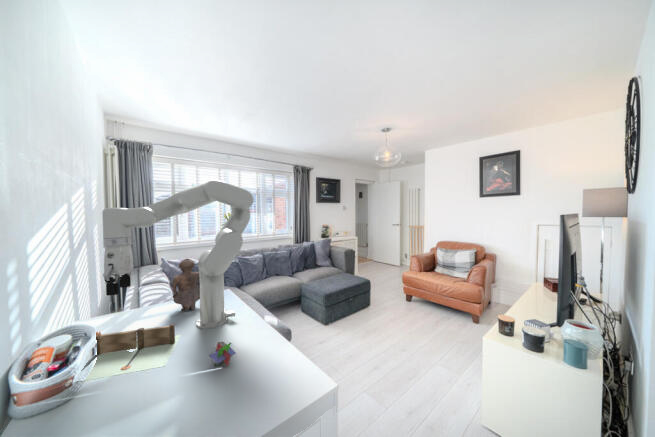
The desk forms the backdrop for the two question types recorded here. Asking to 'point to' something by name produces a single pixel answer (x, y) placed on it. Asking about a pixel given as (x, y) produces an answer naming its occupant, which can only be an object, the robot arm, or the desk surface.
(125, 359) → the card
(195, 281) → the clay figurine
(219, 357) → the geometric puzzle
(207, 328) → the robot arm
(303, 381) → the desk surface
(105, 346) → the panel
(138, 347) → the fence fixed section
